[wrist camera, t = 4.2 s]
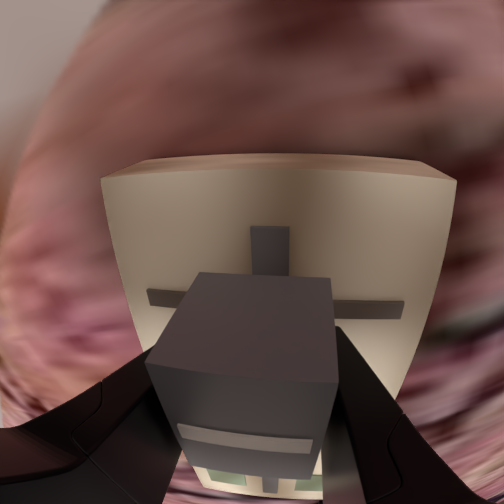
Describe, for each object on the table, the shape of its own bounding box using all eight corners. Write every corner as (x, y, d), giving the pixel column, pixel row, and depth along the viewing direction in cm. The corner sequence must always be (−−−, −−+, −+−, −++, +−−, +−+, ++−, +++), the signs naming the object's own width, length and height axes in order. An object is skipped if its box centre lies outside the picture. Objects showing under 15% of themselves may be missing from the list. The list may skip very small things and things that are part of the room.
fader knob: (327, 255, 8) (339, 385, 4) (316, 366, 9) (310, 482, 6) (212, 251, 8) (142, 365, 4) (225, 359, 10) (189, 467, 6)
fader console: (419, 161, 9) (459, 182, 6) (338, 467, 19) (337, 500, 16) (145, 159, 11) (96, 179, 8) (212, 456, 20) (203, 488, 17)
